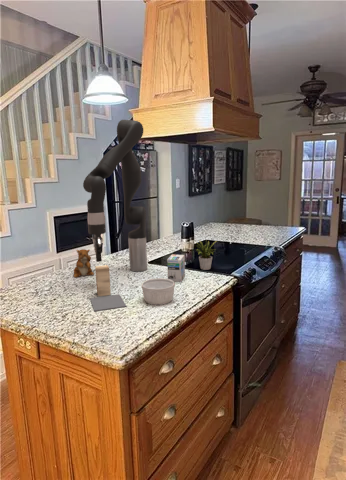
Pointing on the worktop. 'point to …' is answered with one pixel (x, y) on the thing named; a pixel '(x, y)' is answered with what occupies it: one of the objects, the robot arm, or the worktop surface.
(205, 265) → the house plant
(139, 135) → the robot arm
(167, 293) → the ramekin
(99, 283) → the maple block
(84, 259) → the stuffed squirrel
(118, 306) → the slate mat
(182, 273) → the light bulb box
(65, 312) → the worktop surface
